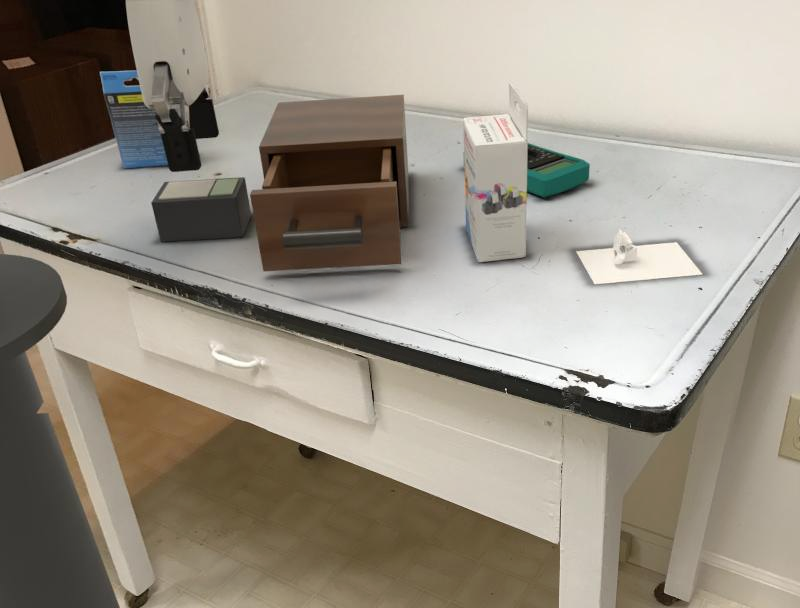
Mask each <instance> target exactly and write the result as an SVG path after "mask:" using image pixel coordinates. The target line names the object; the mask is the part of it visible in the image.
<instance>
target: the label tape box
mask: <svg viewBox="0 0 800 608" xmlns="http://www.w3.org/2000/svg"><path fill="white" fill-rule="evenodd" d="M99 76H100V80H101V85H102V91H103V97H104V101H105V103H106V107H107V111H108V114H109V118H110V121H111V126H112V130H113V134H114V137H115V141H116V145H117V149H118V152H119V156H120V159H121V164H122V167H123V168H124V169H136V168H150V167H161V166H163V167H165V166H168V162H167V158H166V154H165V150H164V146H163V142H162V138H161V134H160V132H159V128H158V121H157V120H156V118H155V116H156V115H155V114H156V111H155V108H148V107H147V106H146V105H145V104H144V101H143V97H142V93H141V88H140V84H139V85H125V82H131V81H132V80H133V79H136V80H137V81H139V79H138V74H137V69H136V70H119V71H118V70H117V71H112V70H111V71H99ZM171 98H181V97H171ZM169 99H170V98H169ZM175 110H176V112H177V113H178V115H179V116H180V109H175ZM180 118H181V117H180Z"/></svg>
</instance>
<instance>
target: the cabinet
mask: <svg viewBox="0 0 800 608" xmlns="http://www.w3.org/2000/svg"><path fill="white" fill-rule="evenodd" d="M273 111H274V112H273V114H272V116H271V118H270V120H269V123H268V124H267V127H266V130H265V131H264V134H263V137H262V138H261V141H260V143H259V146H258V149H259V154H260V155H259V156H260V162H261V169H262V174H263V181H264V180H265V177H266V175H267V172H268V169H269V167H270V164H271V162H272V159H273V156H274V154H275V153H288V152H305V151H321V150H338V149H354V148H371V147H387V146H392V152H393V166H394V181H396V182H397V195H398V210H399V224H400V228H409V226H410V225H409V224H410V223H409V217H410V213H409V209H410V208H409V207H410V204H409V203H410V201H409V198H410V197H409V195H410V194H409V193H410V192H409V191H410V189H409V188H410V187H409V186H410V185H409V182H410V178H409V176H410V175H409V161H408V160H409V159H408V158H409V157H408V143H407V140H408V139H407V125H406V124H407V123H406V107H405V94H393V95H392V94H391V95H377V96H362V97H343V98H330V99H329V98H328V99H312V100H297V101H282V102H279V101H278V102H277V104H276V107H275V109H274V110H273Z"/></svg>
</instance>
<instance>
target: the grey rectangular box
mask: <svg viewBox="0 0 800 608" xmlns="http://www.w3.org/2000/svg"><path fill="white" fill-rule="evenodd" d="M150 204H151V207H152V211H153V216H154V220H155V224H156V228H157V232H158V236H159V241H160V242H161V243H162V242H181V241H183V242H184V241H197V240H198V241H200V240H216V239H233V238H234V239H235V238H243V237H244V236H245V233H246V230H247V228H248V225H249V223H250V220H251V217H252V212H251V211H252V210H251V205H250V200H249V194H248V188H247V181H246V177H245V176H242V177H226V178H225V177H224V178H208V179H191V180H177V181H176V180H175V181H164V182H163V183H162V185H161V187H160V188H159V189H158V191H157V193H156V195H155V196H154V197H153V199H152V201H151V202H150Z"/></svg>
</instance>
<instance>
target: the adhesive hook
mask: <svg viewBox="0 0 800 608" xmlns="http://www.w3.org/2000/svg"><path fill="white" fill-rule="evenodd" d="M637 246H638V245H635V244H633V241H632V239H631V238H630V236H629V235H628V233H627V232H626V231H622V230H621V228H619V229H618V232H617V233H616V234H615V236H614V239H613V246H612V247H611V248H612V251H613V264H614V265H622V264H623V263H627V262H637V261H638V247H637Z"/></svg>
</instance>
